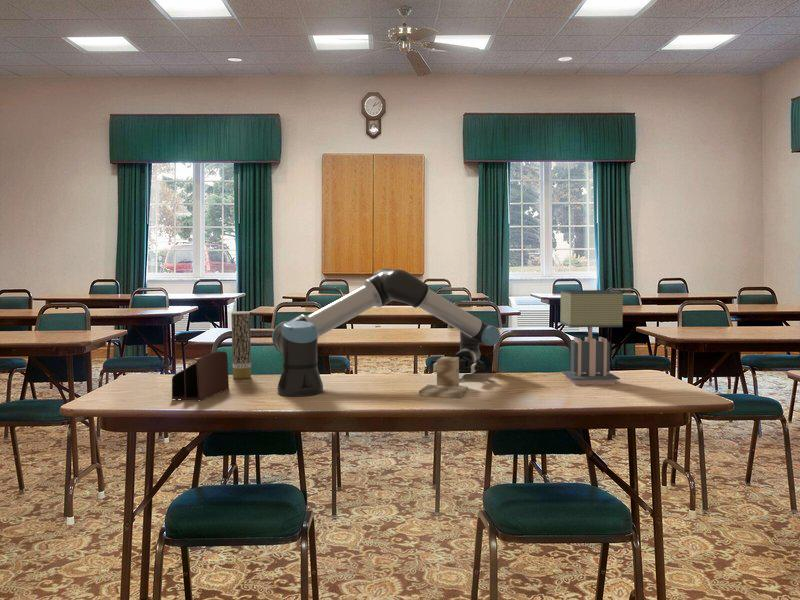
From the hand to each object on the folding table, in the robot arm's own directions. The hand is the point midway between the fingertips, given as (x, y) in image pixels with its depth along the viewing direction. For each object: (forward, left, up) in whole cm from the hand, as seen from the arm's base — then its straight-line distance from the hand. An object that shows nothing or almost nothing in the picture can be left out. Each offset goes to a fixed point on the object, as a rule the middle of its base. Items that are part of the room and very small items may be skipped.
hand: (452, 368), depth 220 cm
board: (0, -15, -6) cm, 16 cm away
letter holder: (-77, -38, -6) cm, 86 cm away
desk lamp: (+46, +19, -6) cm, 50 cm away
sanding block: (-1, -4, -6) cm, 7 cm away
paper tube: (-80, -9, -6) cm, 80 cm away
